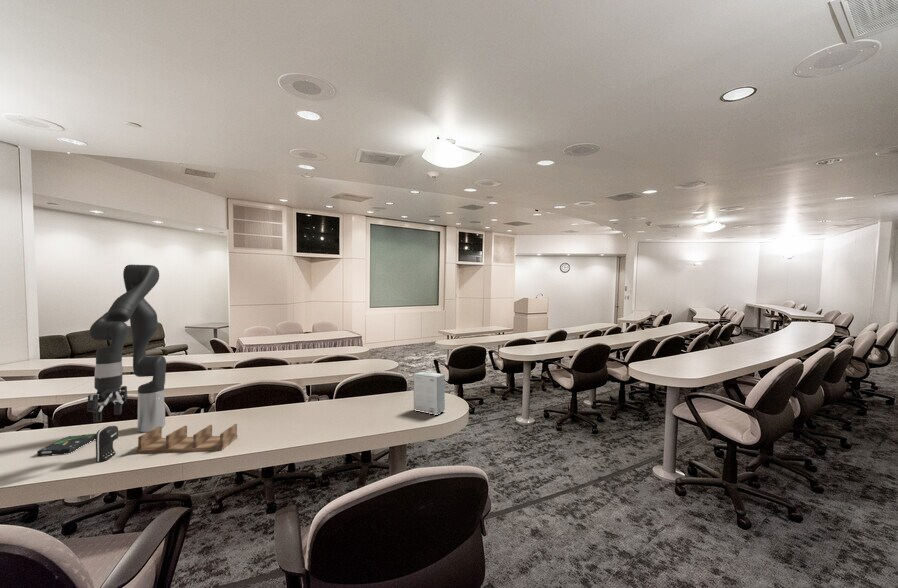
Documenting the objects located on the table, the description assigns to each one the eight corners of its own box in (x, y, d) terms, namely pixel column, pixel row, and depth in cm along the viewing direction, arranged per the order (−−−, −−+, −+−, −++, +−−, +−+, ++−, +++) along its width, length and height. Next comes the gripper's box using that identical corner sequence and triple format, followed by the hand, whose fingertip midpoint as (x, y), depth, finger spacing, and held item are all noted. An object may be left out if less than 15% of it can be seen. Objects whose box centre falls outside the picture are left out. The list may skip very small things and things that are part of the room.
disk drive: (71, 455, 135) (97, 439, 149) (71, 447, 135) (97, 433, 149) (36, 458, 132) (66, 442, 146) (36, 451, 132) (66, 435, 146)
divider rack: (159, 440, 147) (159, 426, 147) (237, 438, 149) (237, 423, 150) (137, 453, 135) (137, 437, 135) (222, 450, 137) (222, 434, 138)
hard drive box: (445, 412, 183) (445, 374, 183) (437, 416, 177) (437, 377, 177) (421, 407, 192) (421, 371, 192) (412, 411, 185) (413, 373, 185)
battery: (107, 461, 128) (108, 430, 128) (94, 463, 127) (95, 431, 127) (119, 453, 135) (120, 423, 135) (107, 454, 134) (108, 424, 134)
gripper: (114, 371, 138) (113, 412, 138) (79, 379, 124) (78, 425, 123) (134, 370, 139) (134, 411, 138) (102, 378, 125) (101, 424, 124)
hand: (108, 418), depth 131 cm, fingers open, 8 cm apart
